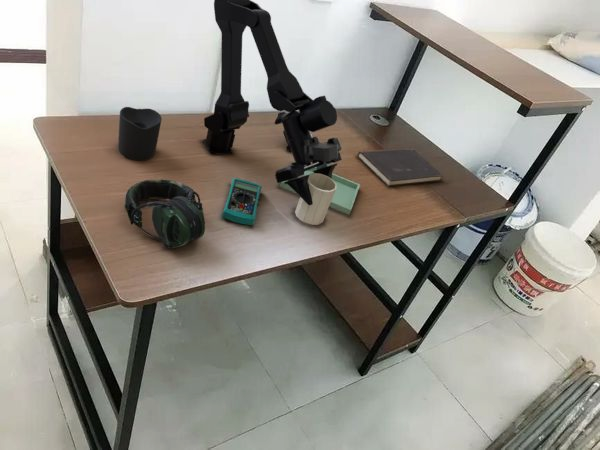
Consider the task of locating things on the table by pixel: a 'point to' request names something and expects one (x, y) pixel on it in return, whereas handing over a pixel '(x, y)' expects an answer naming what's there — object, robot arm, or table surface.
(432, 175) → the hardcover book
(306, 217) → the cup
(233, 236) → the table surface
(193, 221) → the headphones
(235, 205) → the digital multimeter
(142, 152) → the pen holder
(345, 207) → the tray
